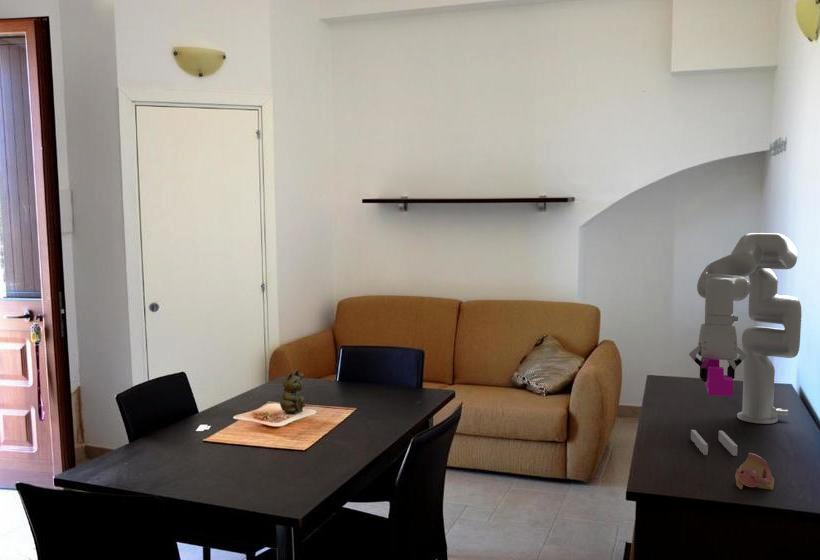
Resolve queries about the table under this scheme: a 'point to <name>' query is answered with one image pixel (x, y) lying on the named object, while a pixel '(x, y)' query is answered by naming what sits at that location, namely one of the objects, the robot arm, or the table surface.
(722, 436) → the guide channel
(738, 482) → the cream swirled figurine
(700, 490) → the table surface
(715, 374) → the toy block
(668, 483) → the table surface
